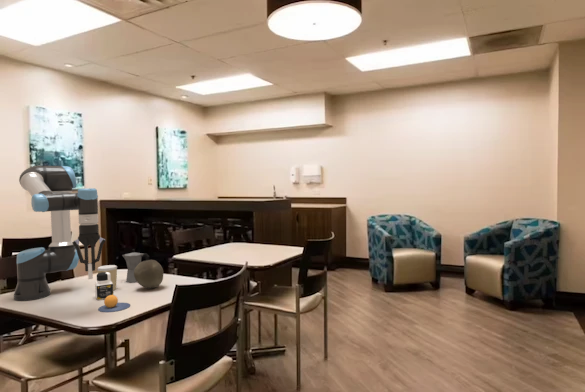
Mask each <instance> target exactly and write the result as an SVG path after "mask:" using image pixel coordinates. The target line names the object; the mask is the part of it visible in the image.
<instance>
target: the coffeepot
mask: <svg viewBox="0 0 585 392" xmlns="http://www.w3.org/2000/svg"><path fill="white" fill-rule="evenodd" d="M121 256H122V257H123V258H124V260H125V262H126V263H125V264H126V267H127V272H126V281H125V282H126V283H128V284H131V283H132V284H134V283H137V281H136V279H135V277H134V270H135V268H136V266H137V265H138V264H139V263H140V262H142V258H143V257H145V260H144V261H146V260H150V255H149V254H148V253H147V252H144V253H142V252H141V253H140V252H136V249H135V248H133V249H131V252H130V253H125V254H122V255H121Z"/></svg>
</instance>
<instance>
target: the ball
mask: <svg viewBox="0 0 585 392" xmlns="http://www.w3.org/2000/svg"><path fill="white" fill-rule="evenodd" d="M103 300H104V301H103V302H104V305H105V306H106V307H108V308H112V307H115V306H116V305H117V303H119V298H118V297H117V296H116V295H114V294H113V295H109V296H107V297H106V298H105V299H103Z"/></svg>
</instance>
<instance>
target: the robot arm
mask: <svg viewBox="0 0 585 392" xmlns="http://www.w3.org/2000/svg"><path fill="white" fill-rule="evenodd" d="M18 181H19V184H20V186H21V187H22V189H24V190H25V191H27V192H28V193H29V194H30V196H31V202H30V203H31V207H32V211H33V212H36V213H37V212H38V213H40V212H42V213H45V212H50V227H51V228H50V229H51V242H50V244H49V245H48V249H46V248H45V247H42V246H41V247H34V248H33V247H32V248H28V249H25V250H22V251H20V252H18V253H17V254H16V274H17V278H16V279H17V284H16V287H15V289H14V293H13V299H14V300H15V301H21V302H22V301H32V300H37V299H38V300H39V299H42V298H45V297H48V296H50V295H51V288H50V285H49V283H48V281H47V278H46V276H47V275H46V274H51V273H57V272H63V271H69V270H74V269H75V268H77V266H78V265H79V263H80V264H84V271H85V272H87V277H88V278H87V279H88V280H93V279H94V277H93V276H94V275H93V274H94V273H93V272H95V271H96V263H97V262H100V260H101V255H102V251H103V247H104V244H105V242H106V238H103V237H101V235H100V231H99V228H100V227H99V224H98V223H99V204H98V203H99V201H98V200H99V195H98V190H97V189H96V188H91V187H89V188H87V187H86V188H78V189H77V192H73V189H75V188H76V186H77V178H76V174H75V171H74V170H73V168H72V167H71V166H66V165H34V166H30V167H27V168H26V169H25V170H23V171H22V172H21V173H20V175H19V178H18ZM71 211H78V224H79V226H78V233H79V234H78V237H77V239H75V240H73V241H72V231H71V230H72V228H71ZM98 242H99V247H98V250H97V255H96V251H95V250H96V248H95V247H96V246H95V245H96V244H97V243H98ZM80 244H81V245H83V250H84V251H83V252H84V257H83V253H82V251H81V248H80V247H81V246H80ZM89 246H90V255H91V258H90V259H91V262H89Z"/></svg>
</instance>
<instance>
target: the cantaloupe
mask: <svg viewBox="0 0 585 392" xmlns="http://www.w3.org/2000/svg"><path fill="white" fill-rule="evenodd" d="M145 260H146V259H145ZM145 260H143V261H142V260H141V262H140V263H139V264H138V265H137V266H136V268H135V270H134V277H135V279H136V281H137V282H136V283H138V285H140V286H141V287H142V288H145V289H150V290H151V289H155V288H157V287H159V286H160V285H161V283H163V280H164V269H163V267H162V265H161V264H160V263H159V262H158V261H157V260H155V259H149V260H146V261H145Z"/></svg>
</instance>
